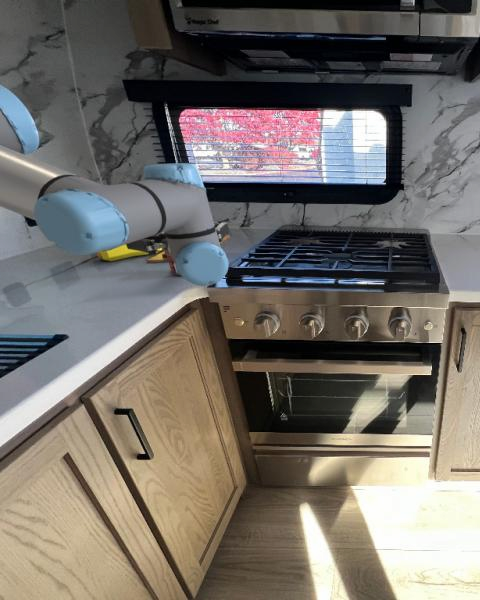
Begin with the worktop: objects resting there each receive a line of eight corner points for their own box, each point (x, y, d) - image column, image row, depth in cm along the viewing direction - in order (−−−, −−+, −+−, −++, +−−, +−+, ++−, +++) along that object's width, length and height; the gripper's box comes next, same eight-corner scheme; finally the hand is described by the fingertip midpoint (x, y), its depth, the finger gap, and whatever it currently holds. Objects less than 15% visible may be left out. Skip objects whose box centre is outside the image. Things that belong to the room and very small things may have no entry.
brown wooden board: (147, 262, 102) (145, 256, 101) (193, 238, 127) (191, 233, 126) (193, 261, 103) (191, 254, 102) (230, 237, 128) (228, 232, 127)
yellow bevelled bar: (99, 258, 107) (99, 264, 101) (90, 238, 104) (89, 243, 98) (165, 247, 117) (167, 252, 111) (158, 228, 114) (161, 232, 108)
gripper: (119, 280, 60) (118, 253, 75) (258, 252, 74) (233, 234, 89) (102, 240, 57) (104, 221, 72) (251, 218, 71) (226, 206, 86)
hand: (176, 228), depth 81 cm, fingers open, 13 cm apart
